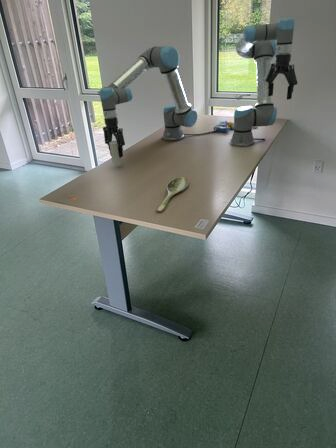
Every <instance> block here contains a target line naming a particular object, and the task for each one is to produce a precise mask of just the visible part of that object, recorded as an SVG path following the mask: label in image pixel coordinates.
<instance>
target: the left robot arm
mask: <svg viewBox="0 0 336 448" xmlns="http://www.w3.org/2000/svg"><path fill="white" fill-rule="evenodd" d="M179 64H180V53H179V51H178V50H177V48H176V47H174V46H171V45H170V46H169V45H165V46H164V45H163V46H162V45H161V46H155V45H154V46H152V47H149V48H147V49H146V50H145V51H143V52H142V53H141V54H140V55H139V56H138V57H137V58H136V61H134V63H132V64H131V65H130V66H129V67H128V68H126V70H125V71H123V72H122V73H121V74H120V75H119V76H118V77H117V78H115V79H114V80H113V81H112V82H111V83H110V84H109V85H107V86H103V87H101V88H100V90H99V98H100V103H101V109H102V113H103V118H104V120H103V121H104V125H105V126H103V127H102V131H103V138H104V144H106V145H107V147H108V150H109V154H110V156H111V150H110V144H109V142H111V141H113V136H114V138H115V141H117V143H118V152H119V157H120V158H121V157H122V158H123V157H124V147H123V146H126V142H125V137H124V133H123V131H124V128H122V127H121V128H120V127H119V125H118V124H119V120H118V119H119V118H118V113H117V105H120V104H121V105H122V104H125V103H128V102H130V101H131V102H132V100H133V98H134V97H133V96H134V95H133V91H132V89H131V88H130V87H129V86H131V84H132V83H134V82H135V81H136V80H137V79H138V78H140V76H141V75H143V74H144V72H148V71H149V70H151V69H153V68H158V69H159V72H160V74H161V75H163V76H164V79H165V81H166V85H167V87H168V90H169V93H170V96H171V98H172V102H173V104H172V105H166V106H165V107H163V113H162V114H163V123H164V130H163V135H162V139H163V140H164V141H167V142H176V141H180V140H182V139H184V137H185V136H202V135H207V134H210V133H211V134H212V133H216V132H218V131H214V130H212V131H208V132H204V133H203V132H202V133H192V134H191V133H184V132H183V129H182V127H185V128H192V127H194V126H195V124H196V123H197V120H198V113H197V111H196V110H195V109H193V108H192V104H191V103H189V102H188V99H187V97H186V93H185V91H184V87H183V84H182V81H181V78H180V75H179V72H178V68H179ZM258 128H259V127H252V129H258ZM230 130H234V128H230ZM230 130H229V131H230Z"/></svg>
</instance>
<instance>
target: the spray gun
mask: <svg viewBox="0 0 336 448" xmlns="http://www.w3.org/2000/svg"><path fill="white" fill-rule="evenodd" d="M232 128H234V121H227V120H220V121H219V122H218V123H217V124H216V125H215V126H214V127H213V131H217V132H220V133H228V132H230V129H232Z"/></svg>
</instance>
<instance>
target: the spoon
mask: <svg viewBox="0 0 336 448" xmlns="http://www.w3.org/2000/svg"><path fill="white" fill-rule="evenodd" d="M189 184H190V182H189V179H188V177H186V176H179V177H175V178H173V179H172V180H170V181H169V182H168V183H167V184H166V190H167V196H166V197H165V198H164V200H163V201H162V202H161V203H160V205H159V206H158V208H157V212H159V213H161V212H163V211H164V210H166V207H167V205H168V203H169V201H170V199H171V198H172V197H173V196H175V195H177V194H178V193H181V192H182V191H184V190H185V189H187V187H188V186H189Z"/></svg>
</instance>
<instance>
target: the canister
mask: <svg viewBox="0 0 336 448" xmlns="http://www.w3.org/2000/svg"><path fill="white" fill-rule="evenodd" d="M109 144H110V150H111V155H110V157H111V161H112V164H113V165H120V164H122V163H124V159H123V157H121V158H120V157H119V152H118V143H117V141H116V140H112V141H111V142H109ZM110 150H109V151H110Z"/></svg>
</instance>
